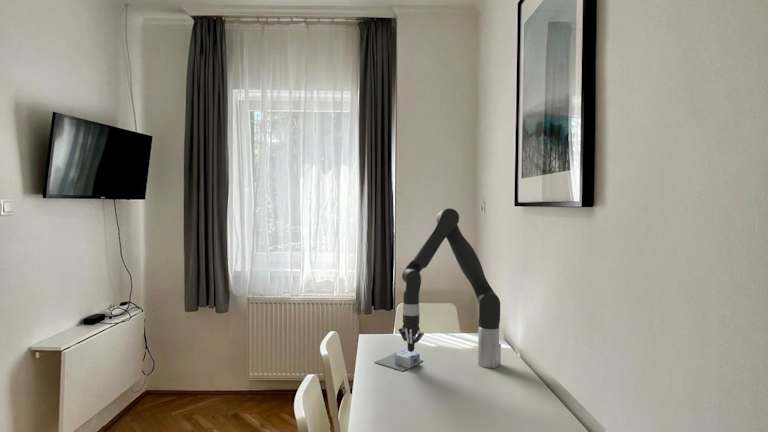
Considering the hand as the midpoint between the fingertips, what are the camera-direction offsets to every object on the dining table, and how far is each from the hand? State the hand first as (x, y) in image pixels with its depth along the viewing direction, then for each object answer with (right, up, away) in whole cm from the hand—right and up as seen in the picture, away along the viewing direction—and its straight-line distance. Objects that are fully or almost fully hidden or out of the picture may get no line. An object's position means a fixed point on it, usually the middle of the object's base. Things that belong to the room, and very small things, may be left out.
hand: (410, 351), depth 185 cm
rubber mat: (-5, -7, +4) cm, 9 cm away
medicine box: (+2, -4, -2) cm, 5 cm away
